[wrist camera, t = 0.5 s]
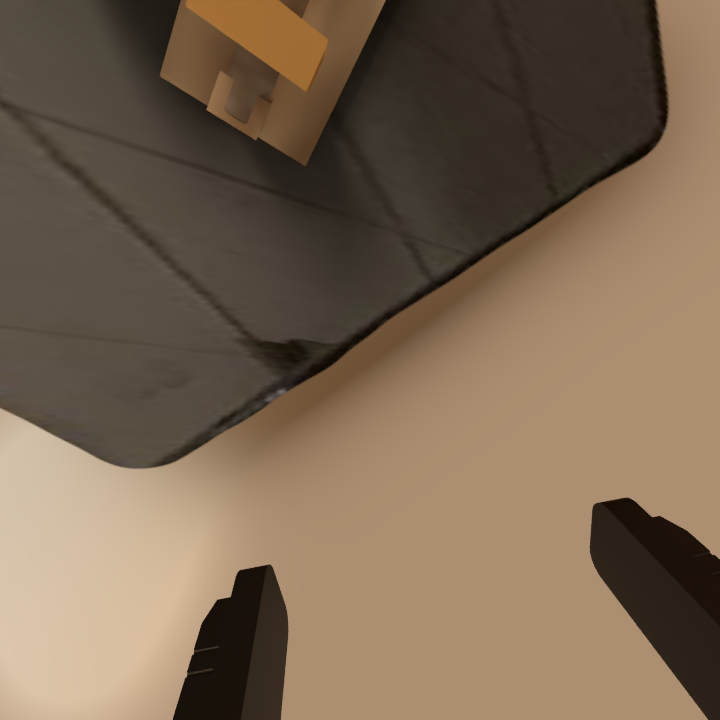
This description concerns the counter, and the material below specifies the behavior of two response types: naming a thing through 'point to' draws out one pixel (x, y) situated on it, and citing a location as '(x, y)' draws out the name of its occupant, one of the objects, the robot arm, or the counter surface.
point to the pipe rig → (269, 73)
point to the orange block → (269, 35)
